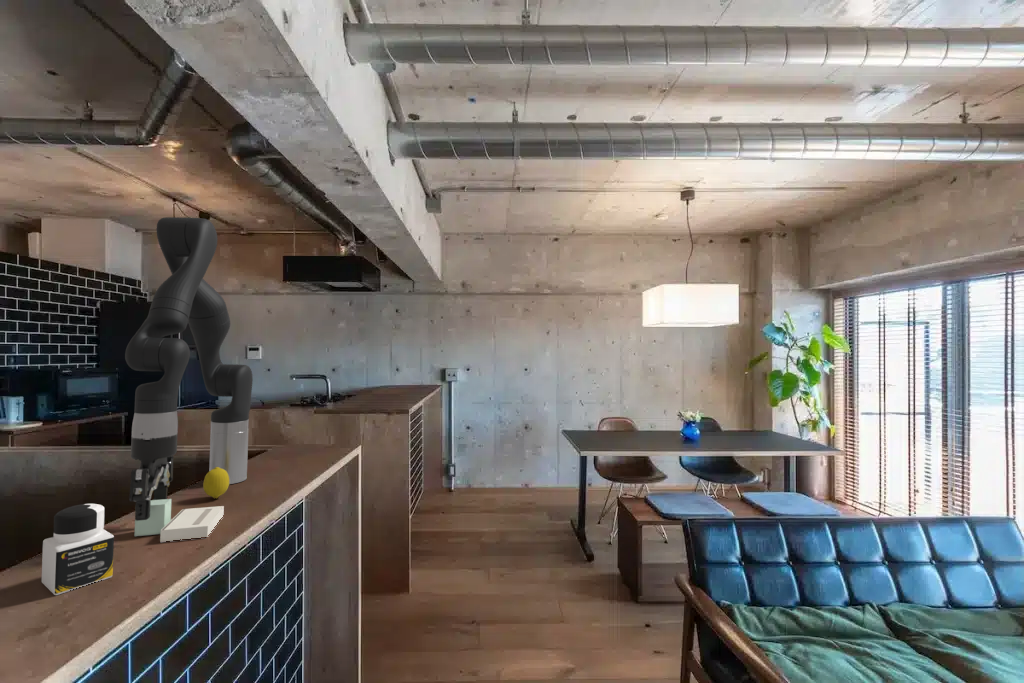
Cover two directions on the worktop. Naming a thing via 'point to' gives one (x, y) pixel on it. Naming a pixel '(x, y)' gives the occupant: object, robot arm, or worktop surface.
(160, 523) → the pale green block
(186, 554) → the worktop surface
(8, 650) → the worktop surface
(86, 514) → the medicine bottle
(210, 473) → the lemon
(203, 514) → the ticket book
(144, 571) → the worktop surface
